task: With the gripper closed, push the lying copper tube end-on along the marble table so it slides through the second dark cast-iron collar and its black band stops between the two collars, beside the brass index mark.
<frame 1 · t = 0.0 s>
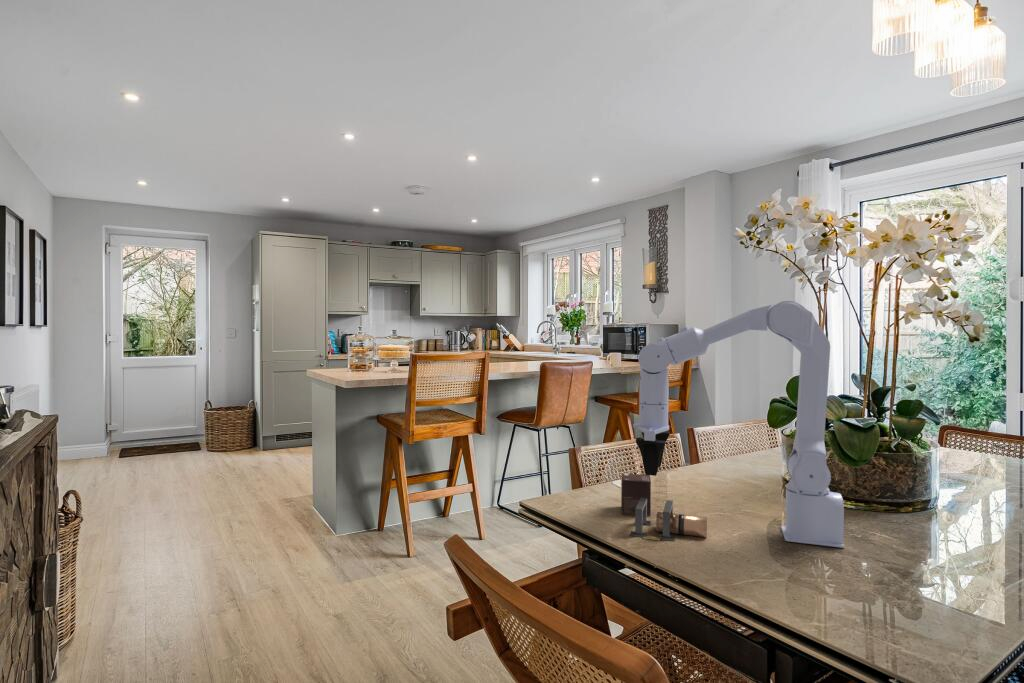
hand: (653, 470, 118), 10 cm above the table, fingers open, 7 cm apart
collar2: (641, 528, 113), on the table
index mark: (651, 538, 107), on the table
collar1: (667, 532, 111), on the table
box: (635, 512, 124), on the table
tube: (681, 533, 110), on the table
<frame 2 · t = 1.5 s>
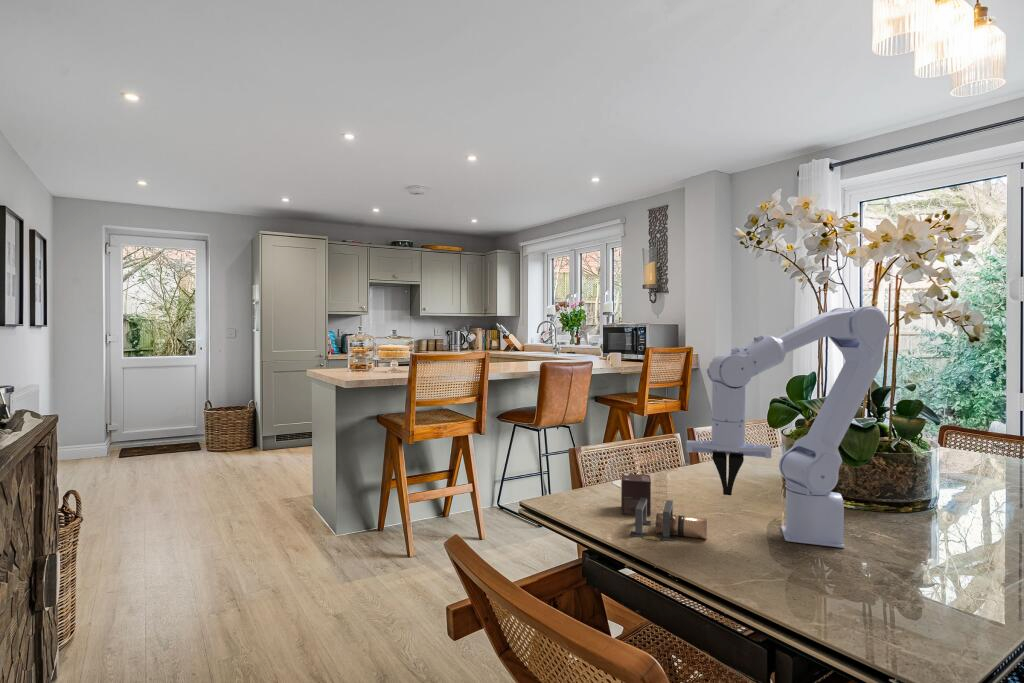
hand: (727, 493, 107), 8 cm above the table, fingers closed
tube: (681, 532, 110), on the table, tilted 29°
everything else where it was.
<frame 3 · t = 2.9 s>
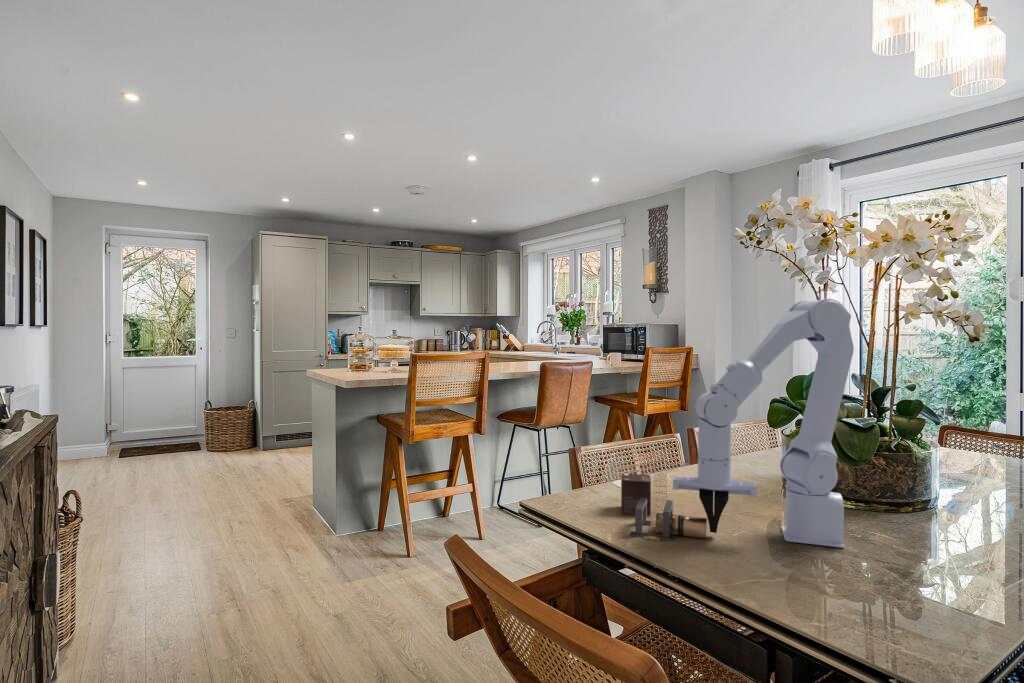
hand: (713, 530, 108), 1 cm above the table, fingers closed
tube: (681, 532, 110), on the table, tilted 23°, touching gripper
everything else where it was.
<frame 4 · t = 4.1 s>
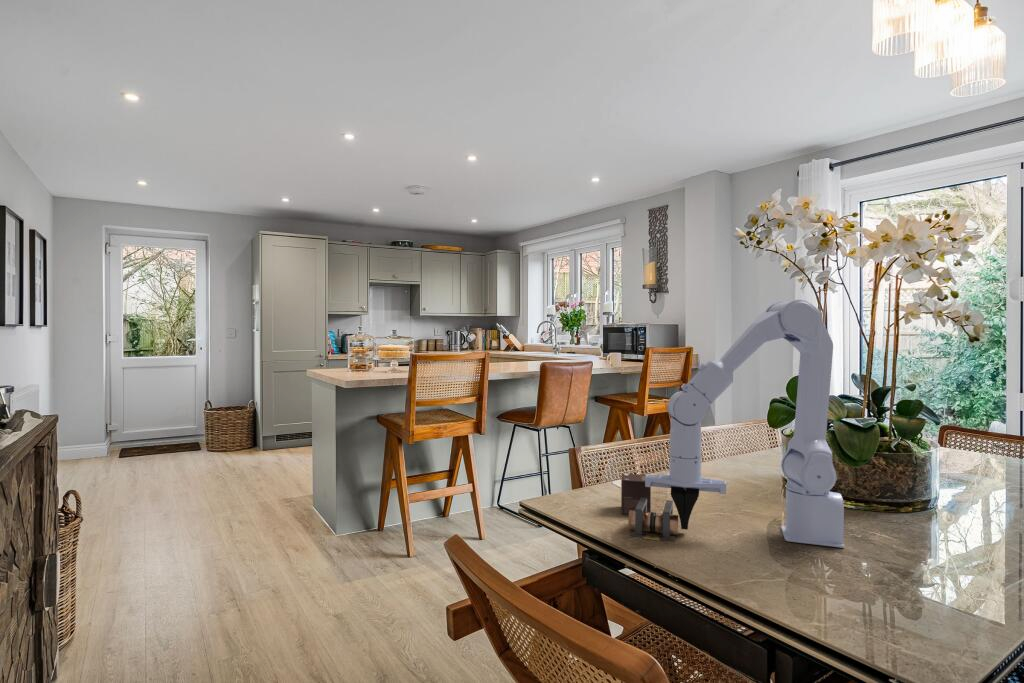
hand: (684, 527, 110), 1 cm above the table, fingers closed
tube: (653, 529, 112), on the table, tilted 23°, touching gripper
everything else where it was.
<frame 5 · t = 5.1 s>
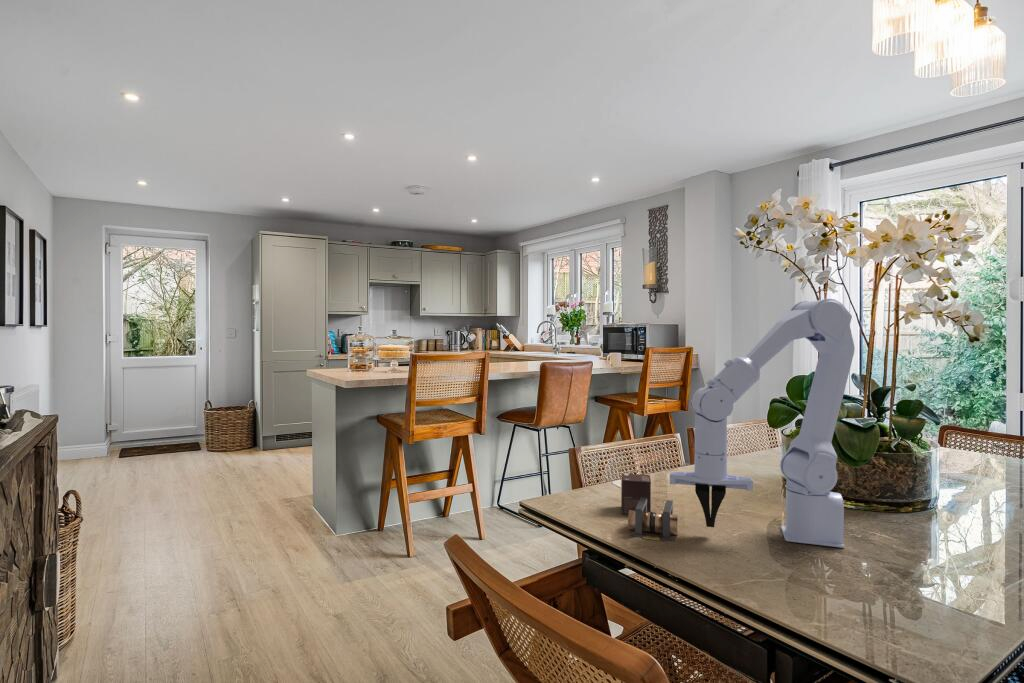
hand: (710, 525, 108), 2 cm above the table, fingers closed
tube: (653, 529, 112), on the table, tilted 23°
everything else where it was.
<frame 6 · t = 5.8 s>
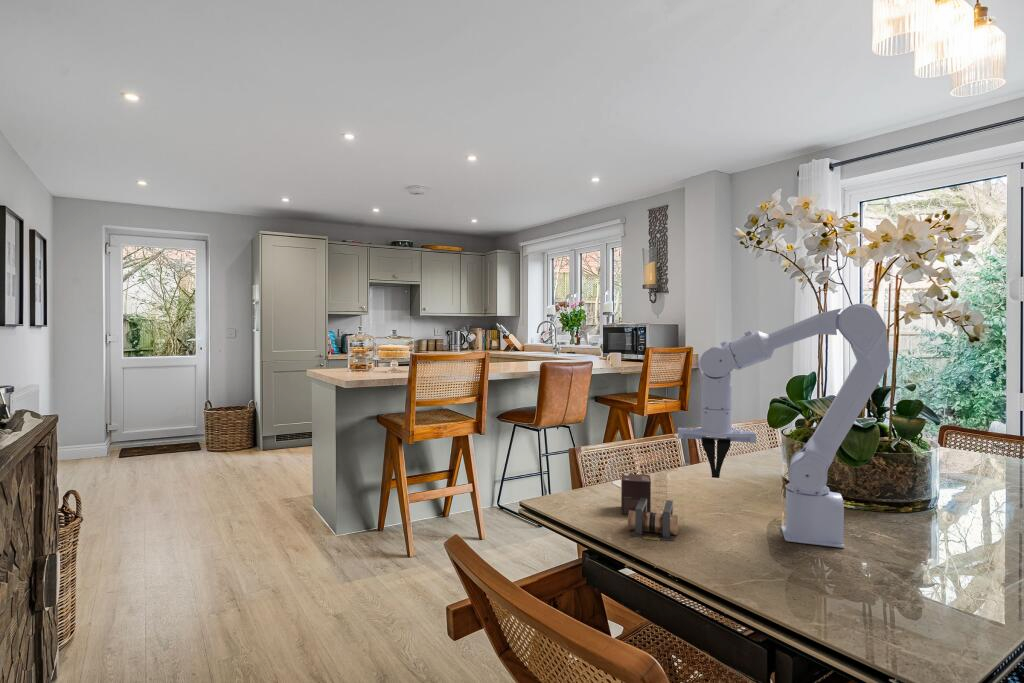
hand: (715, 476, 116), 9 cm above the table, fingers closed
tube: (653, 529, 112), on the table, tilted 28°
everything else where it was.
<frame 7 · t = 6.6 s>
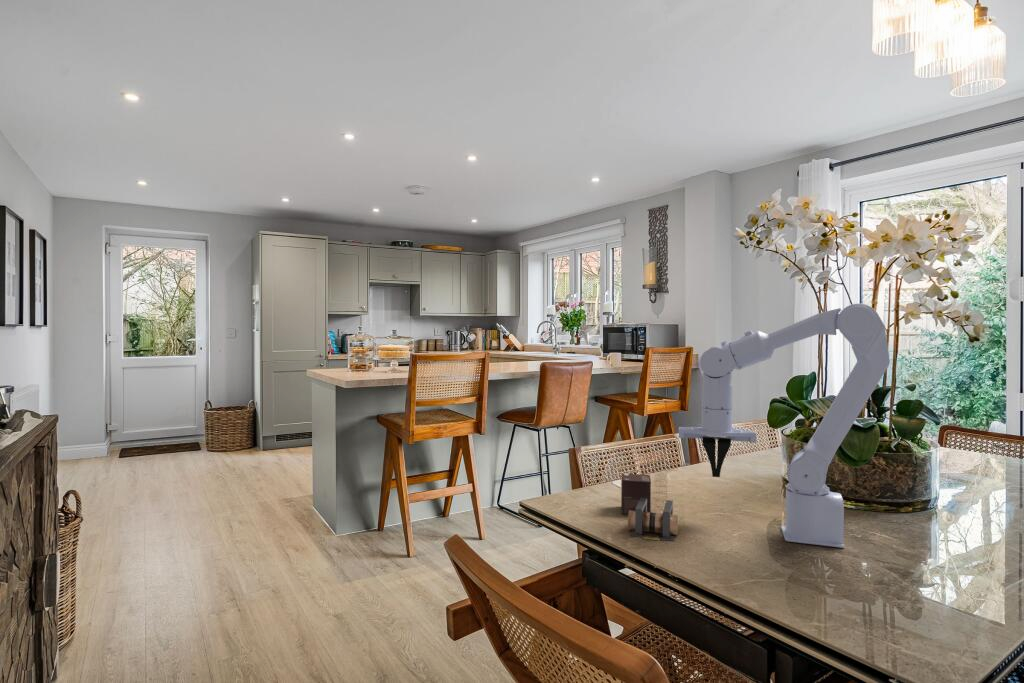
hand: (716, 475, 116), 9 cm above the table, fingers closed
nothing on the table moved.
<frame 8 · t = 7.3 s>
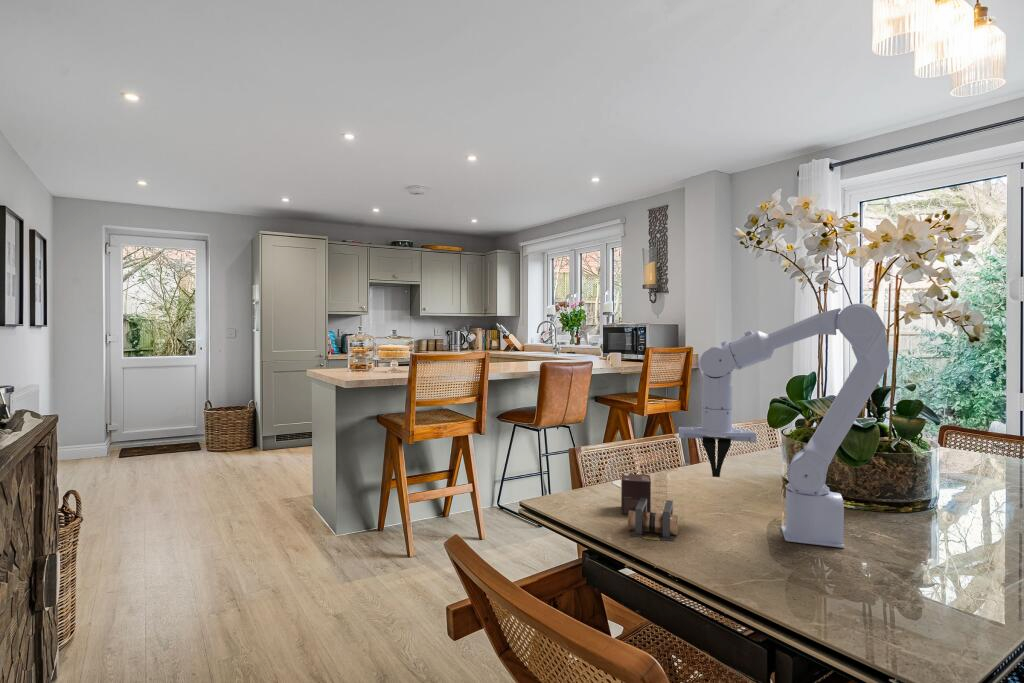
hand: (716, 475, 116), 9 cm above the table, fingers closed
nothing on the table moved.
at the end: tube 0.1 cm from the target spot, on the table; tube moved 5.2 cm from its start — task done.
